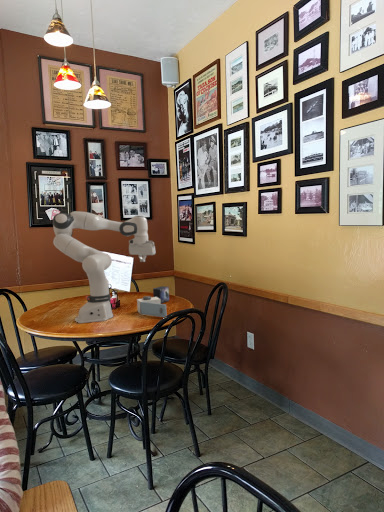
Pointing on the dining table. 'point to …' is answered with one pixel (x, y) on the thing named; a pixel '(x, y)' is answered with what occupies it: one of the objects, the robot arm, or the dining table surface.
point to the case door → (153, 309)
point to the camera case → (148, 301)
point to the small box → (161, 293)
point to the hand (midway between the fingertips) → (142, 261)
